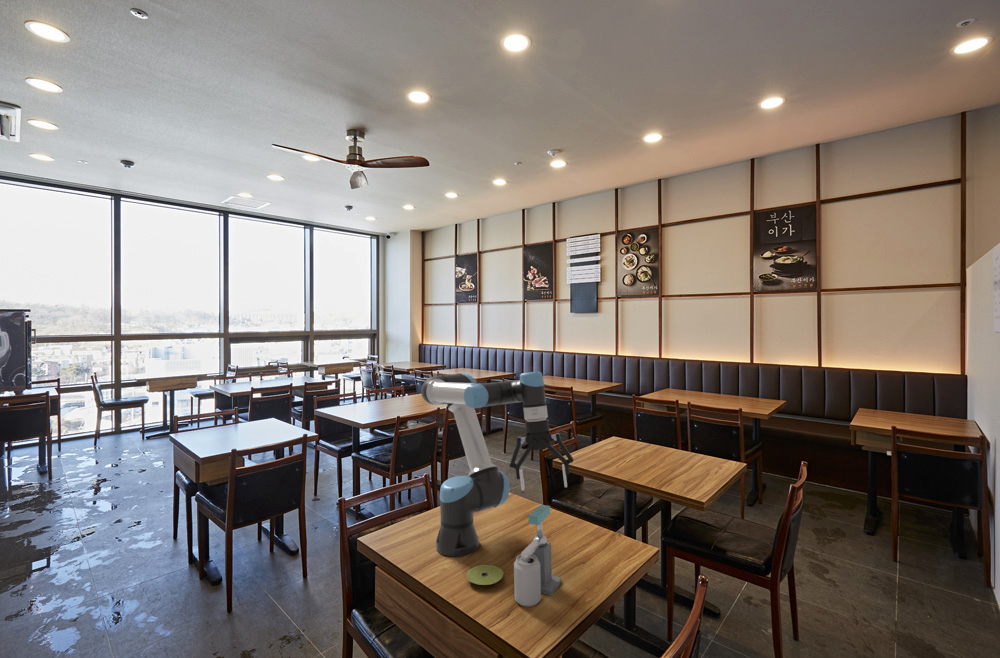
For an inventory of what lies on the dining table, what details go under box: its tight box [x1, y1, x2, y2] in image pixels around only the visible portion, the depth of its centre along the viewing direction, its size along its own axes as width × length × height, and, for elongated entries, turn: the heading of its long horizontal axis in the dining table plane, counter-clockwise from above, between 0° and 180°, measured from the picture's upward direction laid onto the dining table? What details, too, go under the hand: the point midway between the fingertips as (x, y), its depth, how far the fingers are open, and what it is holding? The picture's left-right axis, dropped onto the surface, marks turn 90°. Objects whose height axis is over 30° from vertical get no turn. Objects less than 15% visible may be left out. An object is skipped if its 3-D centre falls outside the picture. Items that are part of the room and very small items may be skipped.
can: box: [513, 554, 542, 608], centre depth 127 cm, size 8×8×12 cm
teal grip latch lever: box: [520, 504, 551, 558], centre depth 133 cm, size 4×15×10 cm, turn 151°
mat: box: [466, 564, 504, 586], centre depth 138 cm, size 11×11×2 cm
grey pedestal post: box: [532, 541, 562, 596], centre depth 135 cm, size 10×8×12 cm
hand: (544, 488), depth 142 cm, fingers open, 13 cm apart
